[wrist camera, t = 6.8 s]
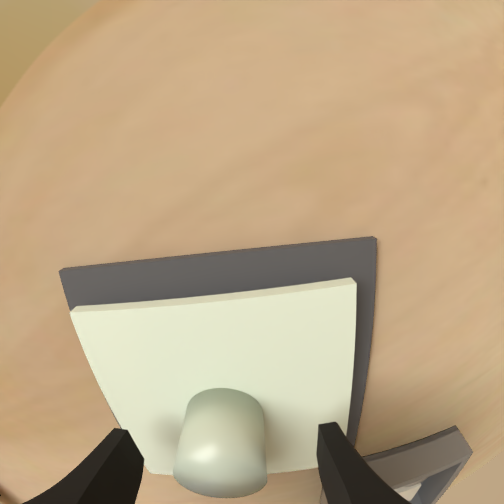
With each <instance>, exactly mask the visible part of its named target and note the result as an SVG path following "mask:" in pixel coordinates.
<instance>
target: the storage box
mask: <svg viewBox="0 0 504 504" xmlns="http://www.w3.org/2000/svg"><path fill="white" fill-rule="evenodd" d="M472 453H473V451H472V449H471V448H470V446H469V445H468V443H467V442H466V440H465V439H464V437H463V436H462V434H461V433H460V431H459V430H458V428H457V427H456V426H454V427H451V428H449V429H447V430H444V431H442V432H439V433H437V434H434V435H432V436H429V437H426V438H424V439H421V440H418V441H415V442H412V443H409V444H407V445H403V446H400V447H397V448H394V449H391V450H387V451H384V452H380V453H377V454H373V455H369V456H365V457H362V458H363V459H364V460H365V462H366V463H367V464H368V465H369V466H370V467H371V468H372V469H373V470H374V472H375V473H376V474H377V475H378V476H379V477H380V478H381V479H382V480H383V481H385V482H386V483H387V484H388V485H389V486H390V487H391V488H392V489H393V490H395V491H396V492H397V493H398V494H400V495H401V496H402V497H403V498H405V499H406V500H408V501H409V502H410V503H412V504H435V503H436V502H437V501H438V500H439V498H440V497H441V496H442V495H443V494H444V492H445V491H446V490H447V489H448V487H449V486H450V485H451V483H452V482H453V481H454V479H455V478H456V477H457V475H458V474H459V472H460V471H461V470H462V468H463V467H464V465H465V464H466V462H467V461H468V459H469V458H470V456H471V455H472ZM320 504H328V502H327V499H326V496H325V492H324V489H323V487H322V493H321V499H320Z"/></svg>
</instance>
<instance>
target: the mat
mask: <svg viewBox="0 0 504 504" xmlns="http://www.w3.org/2000/svg"><path fill="white" fill-rule="evenodd" d="M59 274H60V278H61V282H62V285H63V289H64V292H65V296H66V299H67V302H68V306H69V309H70V311H72V310H73V309H74V308H75V307H76V306H86V305H102V304H116V303H130V302H142V301H154V300H166V299H177V298H187V297H197V296H207V295H217V294H226V293H235V292H244V291H253V290H261V289H269V288H277V287H285V286H293V285H300V284H308V283H315V282H322V281H330V280H336V279H343V278H350V277H351V278H352V279H353V280H354V281H355V282H356V283H357V292H356V331H355V351H354V366H353V379H352V390H351V400H350V409H349V418H348V425H347V433H346V437H347V439H348V440H349V441H350V443H351V444H352V445H353V447H354V445H355V440H356V436H357V431H358V426H359V421H360V416H361V410H362V404H363V399H364V392H365V386H366V379H367V372H368V365H369V356H370V348H371V338H372V328H373V316H374V302H375V283H376V238H374V237H373V236H371V237H361V238H351V239H341V240H331V241H321V242H311V243H301V244H291V245H281V246H271V247H261V248H251V249H242V250H232V251H222V252H212V253H203V254H193V255H183V256H174V257H164V258H155V259H145V260H136V261H126V262H117V263H107V264H98V265H89V266H79V267H70V268H63V269H61V270H60V271H59ZM103 395H104V394H103ZM104 397H105V396H104ZM105 399H106V398H105ZM106 401H107V400H106ZM107 403H108V402H107ZM108 405H109V404H108ZM109 407H110V406H109ZM110 409H111V408H110ZM111 411H112V410H111ZM112 413H113V412H112ZM113 415H114V413H113ZM114 417H115V415H114ZM115 418H116V417H115ZM116 420H117V419H116ZM117 422H118V421H117ZM118 424H119V422H118ZM119 426H120V424H119ZM120 428H121V426H120ZM121 429H122V428H121Z"/></svg>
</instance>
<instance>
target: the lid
mask: <svg viewBox="0 0 504 504" xmlns="http://www.w3.org/2000/svg"><path fill="white" fill-rule="evenodd" d="M356 292H357V283H356V282H355V281H354V280H353V279H352V278H351V277H350V278H343V279H336V280H330V281H322V282H315V283H308V284H300V285H293V286H285V287H277V288H269V289H261V290H253V291H244V292H235V293H226V294H217V295H207V296H197V297H187V298H177V299H166V300H154V301H142V302H130V303H116V304H102V305H86V306H76V307H75V308H74V309H73V310H72V311H70V312H69V313H70V316H71V319H72V321H73V324H74V327H75V330H76V332H77V335H78V337H79V340H80V343H81V345H82V348H83V350H84V352H85V355H86V357H87V360H88V362H89V364H90V366H91V369H92V371H93V373H94V375H95V377H96V380H97V382H98V384H99V386H100V388H101V390H102V392H103V394H104V396H105V398H106V400H107V402H108V404H109V406H110V408H111V410H112V412H113V413H114V415H115V417H116V419H117V421H118V422H119V424H120V426H121V428H122V429H126V430H128V431H129V433H130V435H131V437H132V438H133V440H134V442H135V444H136V445H137V447H138V449H139V451H140V452H141V454H142V456H143V457H144V465H145V466H146V468H147V469H148V471H149V472H150V473H154V474H164V475H174V478H175V479H176V480H177V482H178V483H179V484H181V485H182V486H183V487H185V488H187V489H189V490H190V491H193V492H195V493H198V494H201V495H205V496H210V497H216V498H237V497H244V496H248V495H251V494H254V493H256V492H258V491H259V490H261V489H262V488H263V487H264V486H265V485H266V483H267V474H274V473H283V472H291V471H298V470H305V469H311V468H317V467H318V462H317V456H316V452H317V439H318V424H324V423H329V422H337V423H338V425H339V426H340V428H341V429H342V431H343V433H344V434H345V436H346V433H347V425H348V418H349V409H350V400H351V390H352V379H353V366H354V351H355V331H356Z"/></svg>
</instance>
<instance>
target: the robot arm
mask: <svg viewBox="0 0 504 504" xmlns="http://www.w3.org/2000/svg"><path fill="white" fill-rule="evenodd" d="M316 456H317V462H318V468H319V474H320V479H321V482H322V486H323V489H324V492H325V496H326V499H327V502H328V504H412V503H410V502H409V501H408V500H406V499H405V498H403V497H402V496H401V495H400V494H398V493H397V492H396V491H395V490H393V489H392V488H391V487H390V486H389V485H388V484H387V483H386V482H385V481H383V480H382V479H381V478H380V477H379V476H378V475H377V474H376V473H375V472H374V470H373V469H372V468H371V467H370V466H369V465H368V464H367V463H366V462H365V460H364V459H363V458H362V457H361V456H360V454H359V453H358V452H357V451H356V449H355V448H354V447H353V445H352V444H351V443H350V441H349V440H348V439H347V437H346V436H345V434H344V433H343V431H342V429H341V428H340V426H339V425H338V423H337V422H329V423H324V424H318V439H317V452H316ZM143 466H144V457H143V456H142V454H141V452H140V451H139V449H138V447H137V445H136V444H135V442H134V440H133V438H132V437H131V435H130V433H129V431H128V430H126V429H118V428H114V429H113V430H112V431H111V432H110V433H109V434H108V435H107V436H106V437H105V439H104V440H103V441H102V442H101V443H100V444H99V445H98V446H97V447H96V448H95V449H94V450H93V451H92V452H91V453H90V454H89V455H88V456H87V457H86V458H85V459H84V460H83V461H82V462H81V463H80V464H79V465H78V466H77V467H76V468H75V469H74V470H73V471H71V472H70V473H69V474H68V475H67V476H66V477H65V478H63V479H62V480H61V481H60V482H58V483H57V484H55V485H54V486H53V487H51V488H50V489H48V490H47V491H45V492H43V493H42V494H40V495H38V496H36V497H34V498H33V499H31V500H29V501H27V502H24V503H22V504H135V500H136V497H137V494H138V490H139V487H140V483H141V480H142V473H143Z"/></svg>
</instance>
